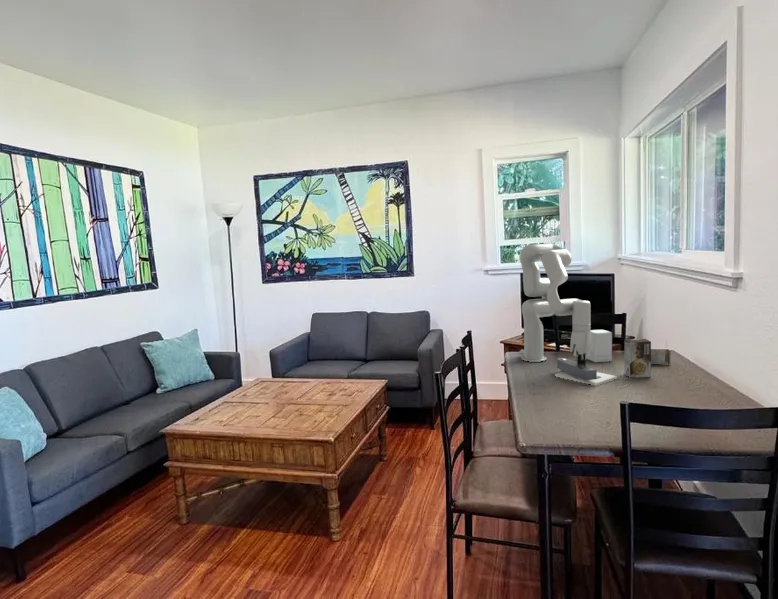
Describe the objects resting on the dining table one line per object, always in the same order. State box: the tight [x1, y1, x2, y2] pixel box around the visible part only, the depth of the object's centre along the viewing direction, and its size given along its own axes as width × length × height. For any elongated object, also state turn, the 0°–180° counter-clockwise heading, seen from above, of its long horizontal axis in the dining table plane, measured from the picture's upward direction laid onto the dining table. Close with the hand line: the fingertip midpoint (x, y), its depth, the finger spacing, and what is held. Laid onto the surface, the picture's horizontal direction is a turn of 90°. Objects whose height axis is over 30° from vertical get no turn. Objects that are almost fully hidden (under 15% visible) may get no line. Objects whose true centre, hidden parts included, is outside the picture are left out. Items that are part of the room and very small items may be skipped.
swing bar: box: [556, 357, 598, 380], centre depth 210 cm, size 24×5×4 cm, turn 12°
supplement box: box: [586, 329, 613, 363], centre depth 240 cm, size 9×9×15 cm
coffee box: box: [623, 338, 652, 378], centre depth 209 cm, size 9×6×16 cm
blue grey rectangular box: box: [651, 348, 672, 366], centre depth 227 cm, size 11×3×10 cm, turn 75°
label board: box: [554, 368, 618, 387], centre depth 212 cm, size 23×16×2 cm
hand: (581, 368), depth 213 cm, fingers closed
